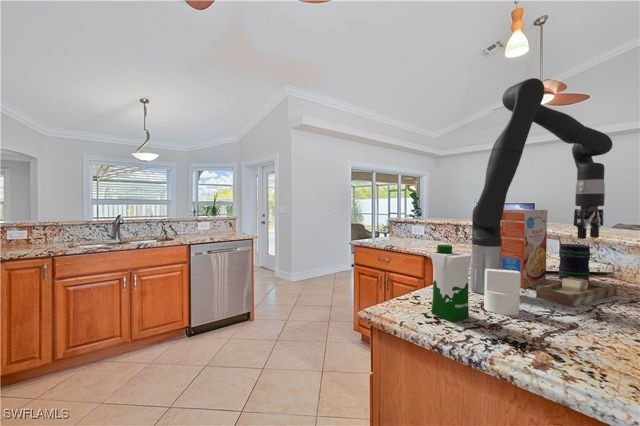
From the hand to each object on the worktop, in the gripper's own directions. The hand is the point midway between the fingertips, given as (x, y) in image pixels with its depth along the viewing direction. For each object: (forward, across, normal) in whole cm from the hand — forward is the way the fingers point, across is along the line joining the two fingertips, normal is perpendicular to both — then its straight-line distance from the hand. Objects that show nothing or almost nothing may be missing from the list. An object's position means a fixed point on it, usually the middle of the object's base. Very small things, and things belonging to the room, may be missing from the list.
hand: (588, 238), depth 101 cm
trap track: (+20, -6, 0) cm, 21 cm away
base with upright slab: (+20, -44, +2) cm, 48 cm away
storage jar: (+20, +18, +12) cm, 30 cm away
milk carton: (+20, -62, +5) cm, 65 cm away
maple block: (+18, -8, 0) cm, 20 cm away
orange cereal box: (+20, -4, +19) cm, 28 cm away
